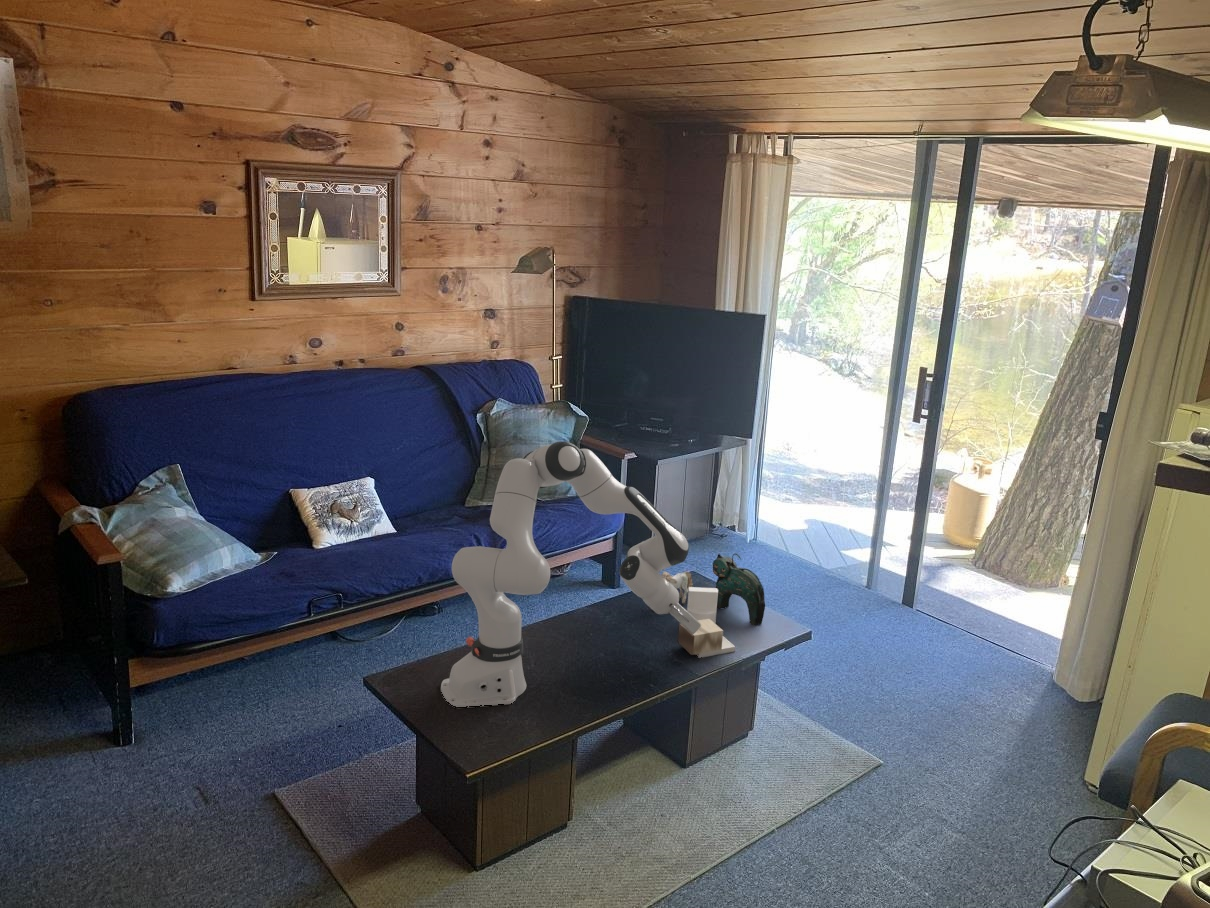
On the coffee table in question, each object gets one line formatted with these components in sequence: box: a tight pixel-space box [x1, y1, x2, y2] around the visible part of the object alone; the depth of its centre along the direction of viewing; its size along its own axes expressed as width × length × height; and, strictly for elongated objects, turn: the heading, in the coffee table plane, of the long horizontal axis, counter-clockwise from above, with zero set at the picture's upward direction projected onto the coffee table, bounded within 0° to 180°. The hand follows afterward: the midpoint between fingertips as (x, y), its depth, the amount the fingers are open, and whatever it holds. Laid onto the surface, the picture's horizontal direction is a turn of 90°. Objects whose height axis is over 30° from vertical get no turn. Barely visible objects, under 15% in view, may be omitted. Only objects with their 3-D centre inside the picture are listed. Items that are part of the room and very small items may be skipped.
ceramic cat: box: [712, 553, 766, 626], centre depth 301 cm, size 20×6×20 cm, turn 40°
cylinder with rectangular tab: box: [686, 586, 718, 624], centre depth 293 cm, size 9×9×12 cm
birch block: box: [677, 619, 724, 656], centre depth 278 cm, size 6×8×10 cm
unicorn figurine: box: [660, 570, 694, 604], centre depth 305 cm, size 7×20×13 cm, turn 150°
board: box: [694, 635, 736, 659], centre depth 282 cm, size 12×12×2 cm
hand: (691, 624), depth 275 cm, fingers closed
